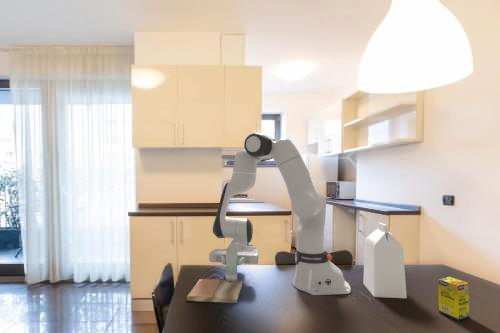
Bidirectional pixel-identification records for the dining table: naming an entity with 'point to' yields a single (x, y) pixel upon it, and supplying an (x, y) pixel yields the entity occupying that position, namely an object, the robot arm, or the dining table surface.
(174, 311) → the dining table surface
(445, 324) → the dining table surface
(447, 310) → the supplement box
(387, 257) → the milk
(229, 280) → the grey-green rectangular block
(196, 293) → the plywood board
